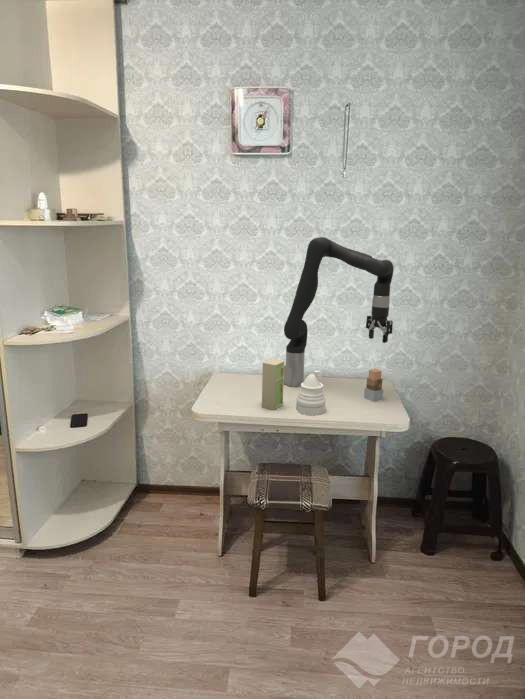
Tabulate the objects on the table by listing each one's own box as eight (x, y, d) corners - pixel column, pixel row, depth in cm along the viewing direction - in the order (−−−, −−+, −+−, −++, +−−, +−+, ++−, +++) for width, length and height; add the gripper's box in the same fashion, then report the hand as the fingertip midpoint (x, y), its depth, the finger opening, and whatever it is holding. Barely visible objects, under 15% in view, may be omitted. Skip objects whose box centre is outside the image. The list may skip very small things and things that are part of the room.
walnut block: (373, 391, 243) (374, 380, 242) (366, 388, 247) (367, 377, 246) (381, 389, 246) (382, 379, 245) (374, 386, 250) (374, 376, 249)
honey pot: (323, 405, 241) (325, 367, 236) (326, 415, 229) (328, 376, 224) (295, 404, 241) (296, 366, 236) (297, 415, 228) (298, 375, 224)
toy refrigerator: (275, 410, 233) (276, 365, 228) (261, 407, 237) (262, 362, 231) (284, 405, 240) (285, 360, 234) (270, 402, 243) (271, 358, 238)
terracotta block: (374, 380, 243) (375, 372, 242) (368, 378, 246) (369, 369, 245) (380, 379, 245) (381, 370, 244) (374, 376, 248) (375, 368, 247)
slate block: (373, 402, 244) (373, 391, 242) (363, 398, 249) (364, 388, 247) (382, 399, 247) (383, 389, 246) (373, 396, 252) (374, 386, 251)
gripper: (363, 303, 240) (360, 338, 244) (386, 308, 229) (383, 345, 233) (375, 302, 244) (372, 336, 248) (398, 307, 233) (395, 343, 237)
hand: (377, 340), depth 241 cm, fingers open, 8 cm apart
